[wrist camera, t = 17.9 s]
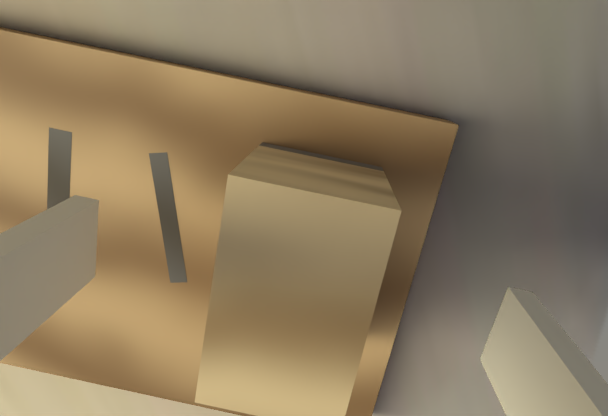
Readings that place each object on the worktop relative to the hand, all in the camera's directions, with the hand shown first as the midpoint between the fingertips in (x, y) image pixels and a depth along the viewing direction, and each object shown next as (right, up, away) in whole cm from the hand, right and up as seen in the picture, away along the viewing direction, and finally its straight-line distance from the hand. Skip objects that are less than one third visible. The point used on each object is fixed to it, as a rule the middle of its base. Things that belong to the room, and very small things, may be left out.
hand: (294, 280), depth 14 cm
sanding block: (0, +1, +5) cm, 5 cm away
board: (-7, +1, +8) cm, 10 cm away
